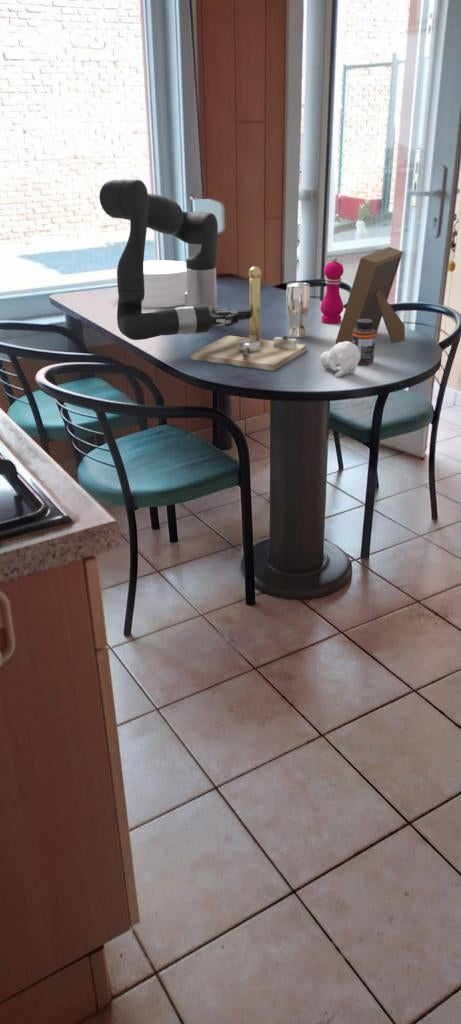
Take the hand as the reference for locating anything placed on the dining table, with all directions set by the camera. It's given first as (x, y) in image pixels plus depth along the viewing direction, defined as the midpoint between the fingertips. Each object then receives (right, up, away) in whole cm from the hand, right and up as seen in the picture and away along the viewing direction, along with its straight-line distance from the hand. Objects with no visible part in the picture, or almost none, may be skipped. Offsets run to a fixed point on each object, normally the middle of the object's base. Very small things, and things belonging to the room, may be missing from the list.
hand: (249, 314), depth 219 cm
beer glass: (+15, -3, +14) cm, 20 cm away
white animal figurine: (+22, -20, -20) cm, 36 cm away
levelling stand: (0, -12, -4) cm, 13 cm away
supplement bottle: (+30, -16, -12) cm, 36 cm away
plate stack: (-32, +21, +63) cm, 73 cm away
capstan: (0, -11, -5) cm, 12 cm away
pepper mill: (+27, +5, +29) cm, 40 cm away
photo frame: (+36, -6, +7) cm, 38 cm away
